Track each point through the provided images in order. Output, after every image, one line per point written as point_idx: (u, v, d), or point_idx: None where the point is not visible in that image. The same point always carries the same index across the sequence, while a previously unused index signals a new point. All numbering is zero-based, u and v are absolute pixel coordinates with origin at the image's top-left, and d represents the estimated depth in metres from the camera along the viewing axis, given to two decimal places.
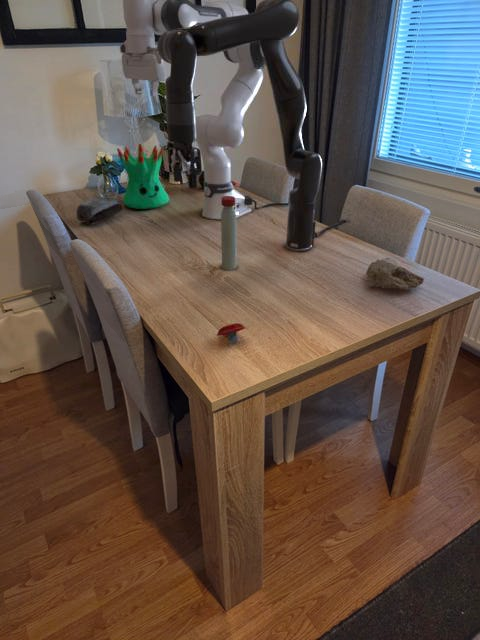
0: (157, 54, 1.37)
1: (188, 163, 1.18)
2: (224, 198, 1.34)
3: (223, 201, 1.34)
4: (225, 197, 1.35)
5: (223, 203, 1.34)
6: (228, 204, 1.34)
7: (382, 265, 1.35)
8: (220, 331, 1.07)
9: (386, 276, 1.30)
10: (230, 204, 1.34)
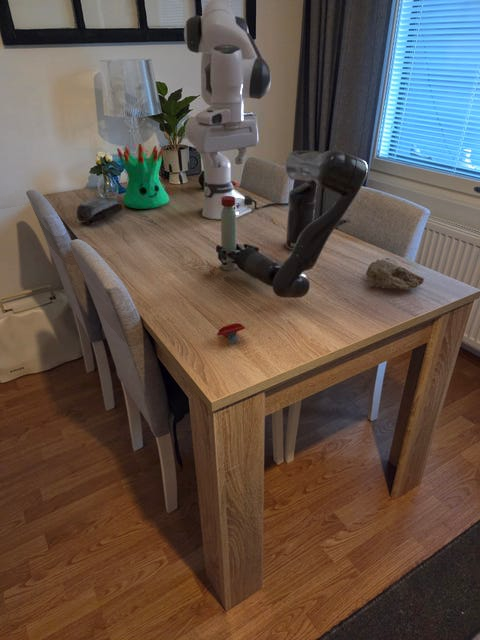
0: (254, 118, 1.28)
1: None
2: (224, 198, 1.34)
3: (223, 201, 1.34)
4: (225, 197, 1.35)
5: (223, 203, 1.34)
6: (228, 204, 1.34)
7: (382, 265, 1.35)
8: (220, 331, 1.07)
9: (386, 276, 1.30)
10: (230, 204, 1.34)
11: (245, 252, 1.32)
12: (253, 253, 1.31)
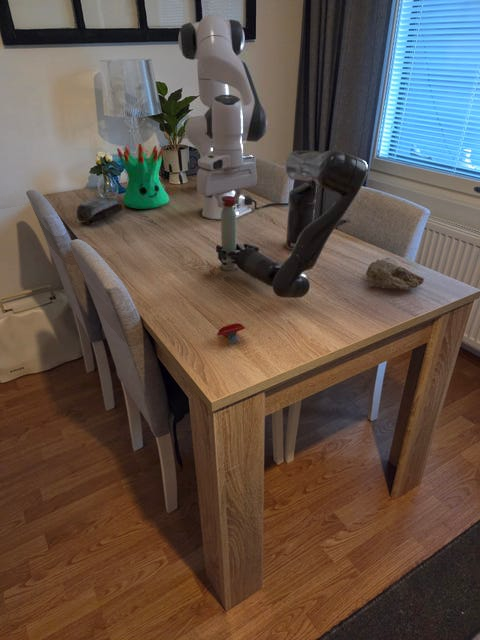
0: (253, 161, 1.34)
1: None
2: (224, 198, 1.34)
3: None
4: (225, 197, 1.35)
5: None
6: (228, 204, 1.34)
7: (382, 265, 1.35)
8: (220, 331, 1.07)
9: (386, 276, 1.30)
10: (230, 204, 1.34)
11: (245, 252, 1.32)
12: (253, 253, 1.31)
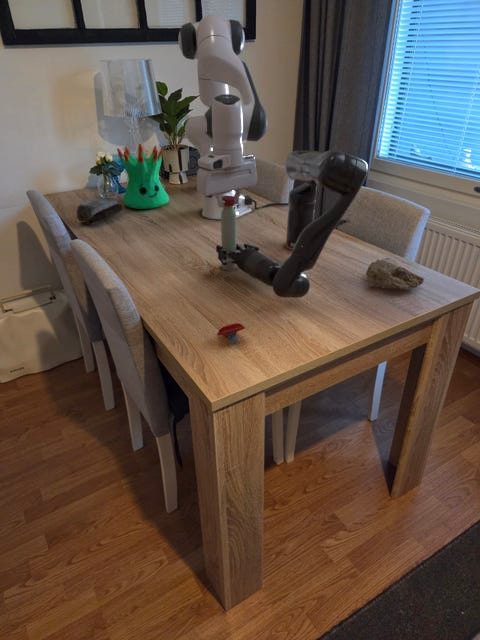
0: (253, 160, 1.34)
1: None
2: (230, 198, 1.33)
3: (232, 201, 1.34)
4: (226, 198, 1.34)
5: (232, 203, 1.34)
6: None
7: (382, 265, 1.35)
8: (220, 331, 1.07)
9: (386, 276, 1.30)
10: None
11: (245, 252, 1.32)
12: (253, 253, 1.31)
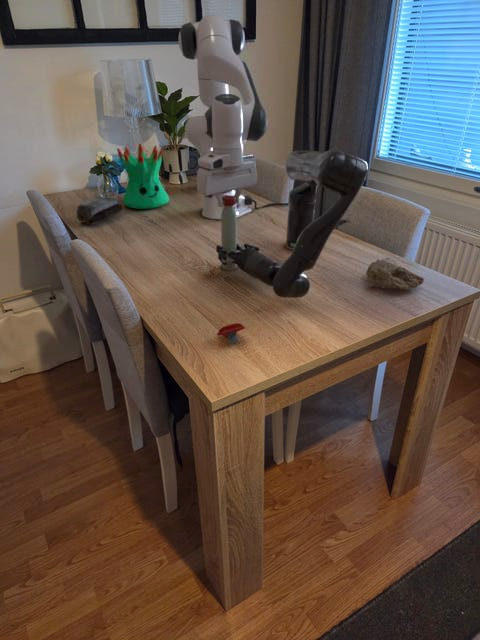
0: (253, 160, 1.34)
1: None
2: (232, 196, 1.35)
3: None
4: (231, 197, 1.34)
5: None
6: None
7: (382, 265, 1.35)
8: (220, 331, 1.07)
9: (386, 276, 1.30)
10: None
11: (245, 252, 1.32)
12: (253, 253, 1.31)
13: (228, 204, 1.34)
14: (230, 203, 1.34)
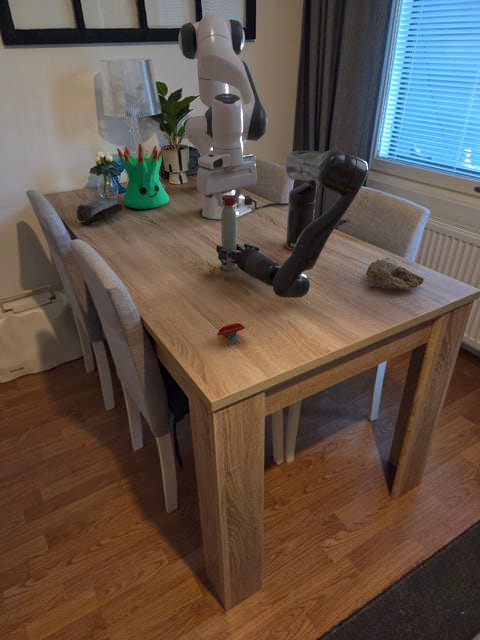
0: (253, 160, 1.34)
1: None
2: (227, 195, 1.35)
3: None
4: (230, 196, 1.35)
5: None
6: None
7: (382, 265, 1.35)
8: (220, 331, 1.07)
9: (386, 276, 1.30)
10: None
11: (245, 252, 1.32)
12: (253, 253, 1.31)
13: None
14: None
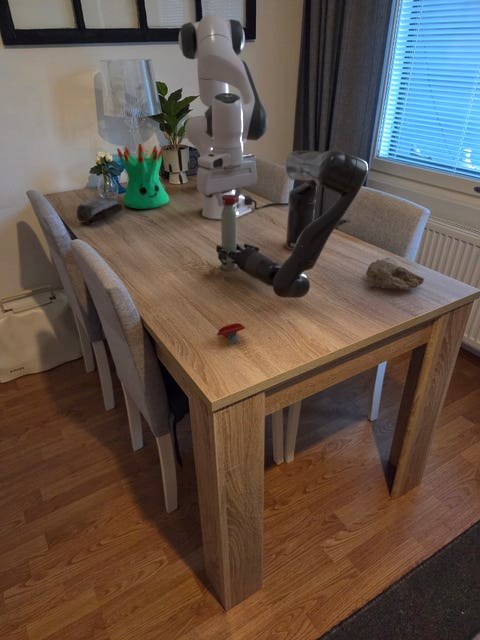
0: (253, 159, 1.34)
1: None
2: (224, 196, 1.34)
3: None
4: (226, 195, 1.35)
5: None
6: (226, 203, 1.33)
7: (382, 265, 1.35)
8: (220, 331, 1.07)
9: (386, 276, 1.30)
10: (228, 203, 1.33)
11: (245, 253, 1.32)
12: (253, 253, 1.31)
13: None
14: None
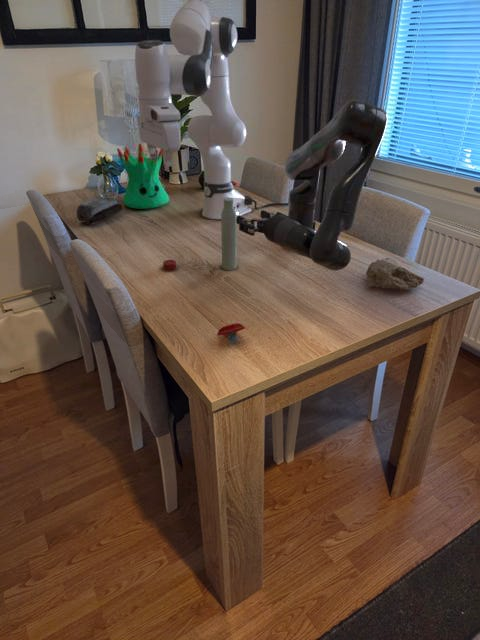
0: None
1: None
2: (173, 262, 1.45)
3: (175, 263, 1.45)
4: (170, 263, 1.44)
5: (175, 265, 1.46)
6: None
7: (382, 265, 1.35)
8: (220, 331, 1.07)
9: (386, 276, 1.30)
10: None
11: (275, 219, 1.16)
12: (284, 220, 1.15)
13: (166, 269, 1.44)
14: (168, 268, 1.44)
